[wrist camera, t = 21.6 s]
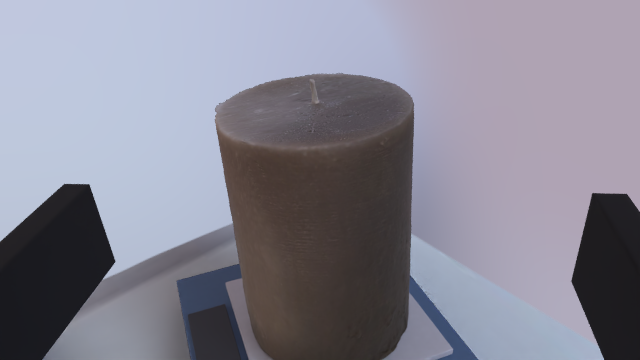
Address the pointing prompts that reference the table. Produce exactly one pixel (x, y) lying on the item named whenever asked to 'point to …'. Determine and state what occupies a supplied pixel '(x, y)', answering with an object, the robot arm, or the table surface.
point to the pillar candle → (322, 212)
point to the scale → (247, 356)
